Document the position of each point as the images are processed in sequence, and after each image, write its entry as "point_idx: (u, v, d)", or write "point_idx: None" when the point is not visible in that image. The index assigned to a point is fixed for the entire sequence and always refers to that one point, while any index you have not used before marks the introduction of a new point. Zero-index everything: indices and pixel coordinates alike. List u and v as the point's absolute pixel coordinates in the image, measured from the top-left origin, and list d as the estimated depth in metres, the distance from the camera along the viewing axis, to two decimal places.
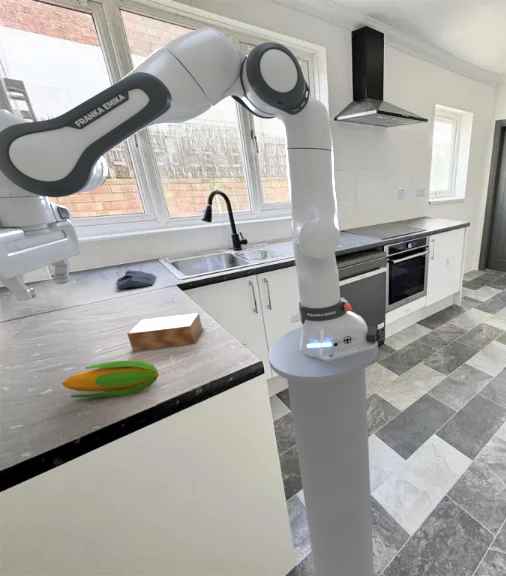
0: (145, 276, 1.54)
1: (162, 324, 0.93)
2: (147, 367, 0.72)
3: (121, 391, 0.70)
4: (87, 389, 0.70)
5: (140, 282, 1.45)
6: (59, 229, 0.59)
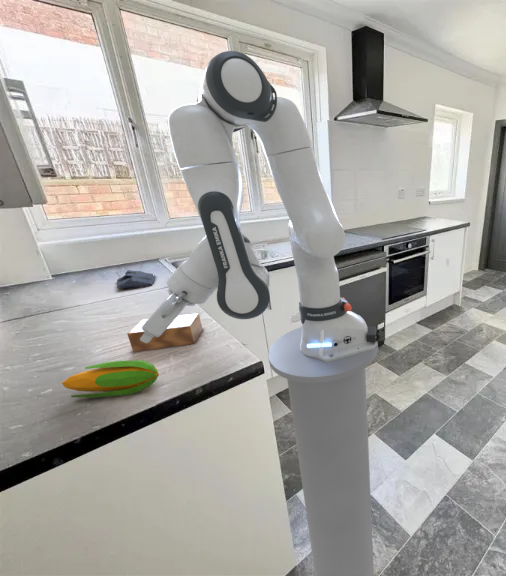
0: (145, 276, 1.54)
1: None
2: (147, 367, 0.72)
3: (121, 391, 0.70)
4: (87, 389, 0.70)
5: (140, 282, 1.45)
6: None
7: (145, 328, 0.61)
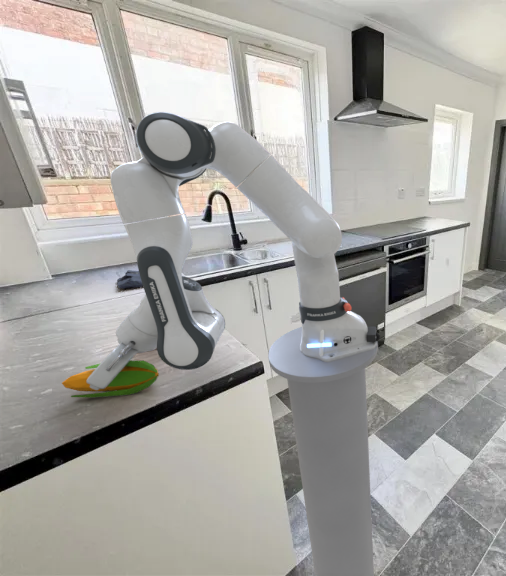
0: None
1: None
2: (147, 367, 0.72)
3: (121, 391, 0.70)
4: (87, 389, 0.70)
5: (140, 282, 1.45)
6: None
7: (89, 382, 0.61)
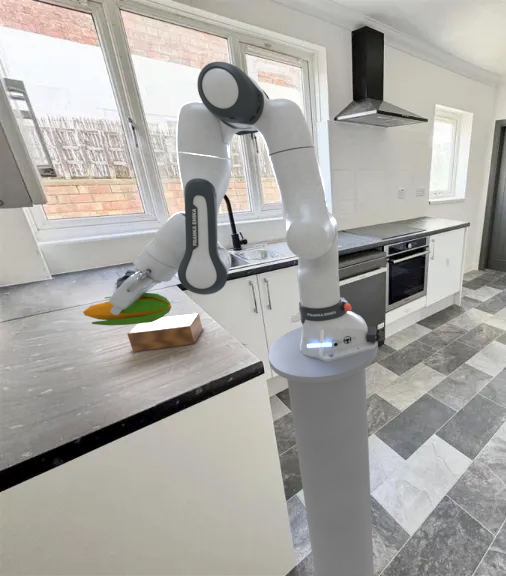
0: None
1: (162, 324, 0.93)
2: (161, 298, 0.79)
3: (138, 318, 0.76)
4: (106, 317, 0.76)
5: None
6: None
7: (111, 301, 0.68)
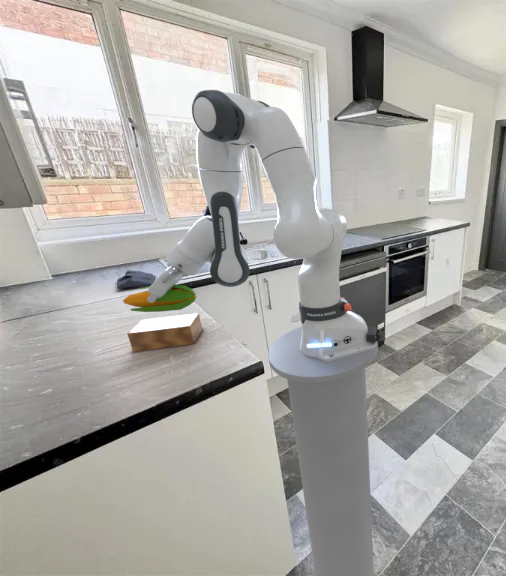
0: (145, 276, 1.54)
1: (162, 324, 0.93)
2: (188, 289, 0.92)
3: (169, 306, 0.90)
4: (142, 304, 0.90)
5: (140, 282, 1.45)
6: None
7: (150, 290, 0.82)
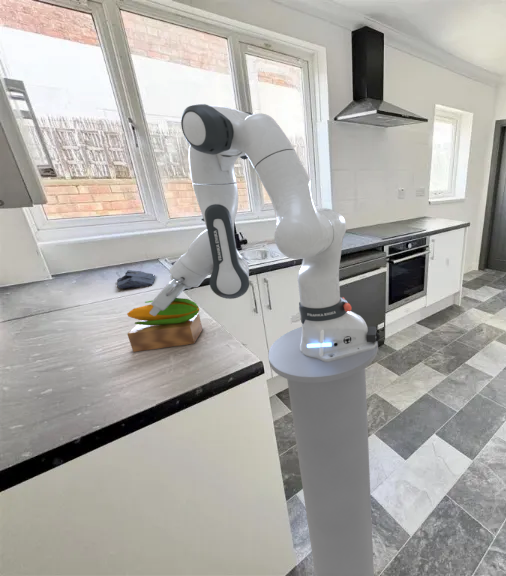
0: (145, 276, 1.54)
1: None
2: (191, 303, 0.94)
3: (172, 319, 0.91)
4: (146, 318, 0.91)
5: (140, 282, 1.45)
6: None
7: (154, 303, 0.83)
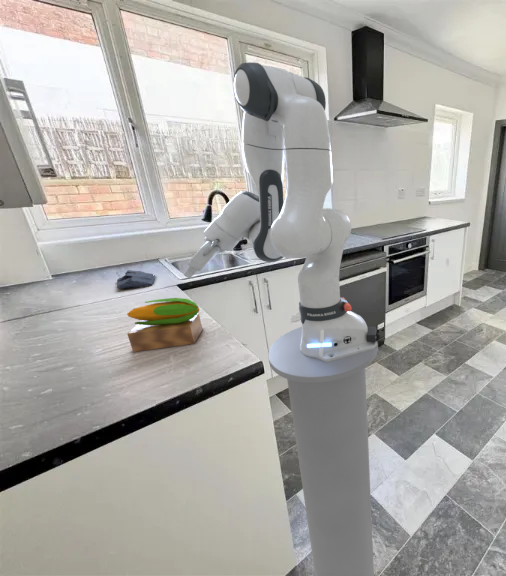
0: (145, 276, 1.54)
1: None
2: (191, 303, 0.94)
3: (172, 319, 0.91)
4: (146, 318, 0.91)
5: (140, 282, 1.45)
6: None
7: (190, 263, 0.82)
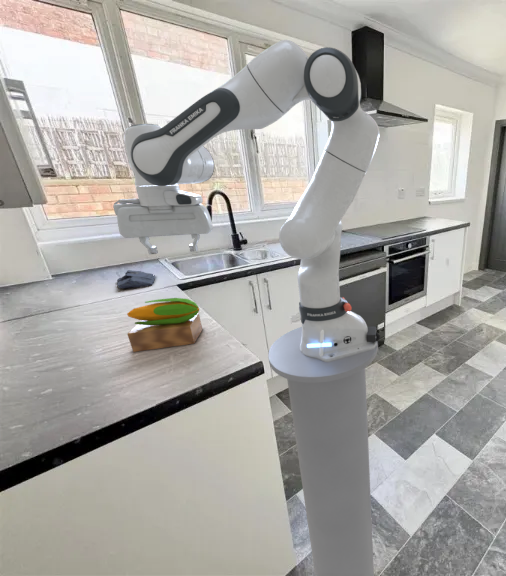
0: (145, 276, 1.54)
1: None
2: (191, 303, 0.94)
3: (172, 319, 0.91)
4: (146, 318, 0.91)
5: (140, 282, 1.45)
6: (186, 211, 0.77)
7: None
